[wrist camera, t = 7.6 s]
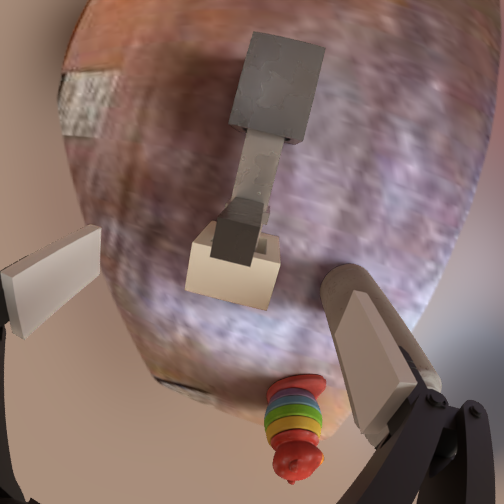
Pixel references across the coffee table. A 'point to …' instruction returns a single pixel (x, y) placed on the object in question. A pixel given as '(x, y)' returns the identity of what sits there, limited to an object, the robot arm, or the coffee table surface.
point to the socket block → (234, 272)
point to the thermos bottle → (357, 278)
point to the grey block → (277, 86)
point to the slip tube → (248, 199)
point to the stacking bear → (295, 425)
